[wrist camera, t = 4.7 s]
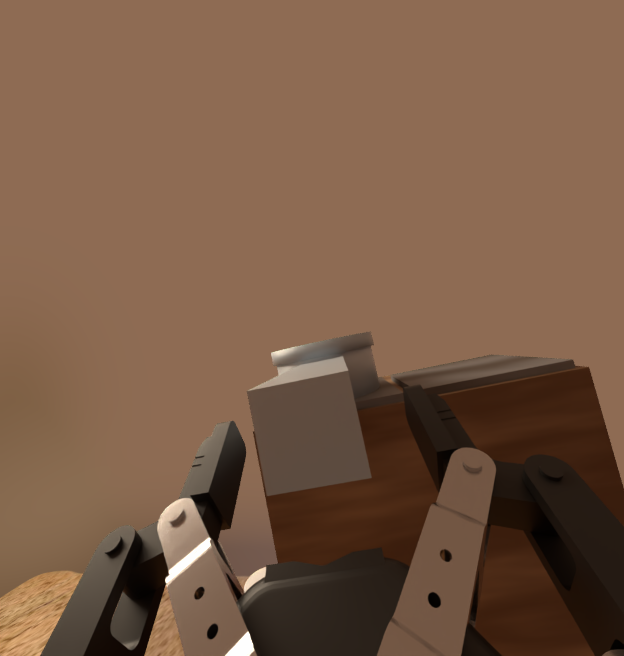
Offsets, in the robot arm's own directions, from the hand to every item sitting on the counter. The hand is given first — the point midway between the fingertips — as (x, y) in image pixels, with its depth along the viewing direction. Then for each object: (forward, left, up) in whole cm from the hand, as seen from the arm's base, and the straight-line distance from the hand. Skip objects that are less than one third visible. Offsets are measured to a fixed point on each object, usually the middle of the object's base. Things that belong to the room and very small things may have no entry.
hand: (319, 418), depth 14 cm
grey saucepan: (-3, -7, -1) cm, 8 cm away
